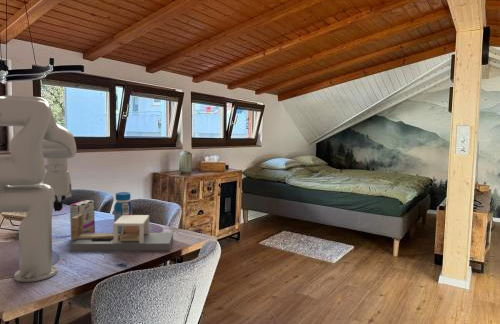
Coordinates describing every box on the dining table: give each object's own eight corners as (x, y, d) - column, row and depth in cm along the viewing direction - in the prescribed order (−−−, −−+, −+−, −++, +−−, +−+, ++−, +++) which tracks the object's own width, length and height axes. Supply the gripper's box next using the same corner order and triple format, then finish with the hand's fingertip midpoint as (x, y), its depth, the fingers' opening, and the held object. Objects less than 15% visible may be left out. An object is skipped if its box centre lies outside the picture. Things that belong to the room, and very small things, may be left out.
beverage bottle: (110, 235, 165) (110, 194, 164) (118, 230, 174) (118, 191, 172) (128, 236, 165) (128, 195, 163) (134, 231, 173) (134, 192, 172)
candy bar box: (86, 233, 168) (85, 199, 167) (95, 233, 167) (95, 200, 166) (69, 239, 157) (69, 204, 156) (79, 240, 156) (79, 204, 155)
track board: (169, 250, 148) (169, 223, 147) (70, 251, 143) (70, 223, 142) (173, 238, 163) (173, 214, 162) (84, 239, 159) (84, 214, 158)
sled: (139, 240, 149) (139, 219, 148) (70, 240, 145) (70, 218, 145) (143, 233, 159) (143, 213, 158) (79, 234, 155) (79, 213, 155)
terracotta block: (136, 236, 151) (136, 225, 151) (125, 236, 150) (125, 225, 150) (139, 233, 156) (139, 222, 155) (127, 233, 155) (127, 222, 155)
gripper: (34, 168, 143) (35, 212, 145) (72, 169, 144) (73, 212, 146) (42, 166, 150) (43, 208, 152) (79, 167, 152) (79, 208, 154)
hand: (58, 210), depth 149 cm, fingers closed
